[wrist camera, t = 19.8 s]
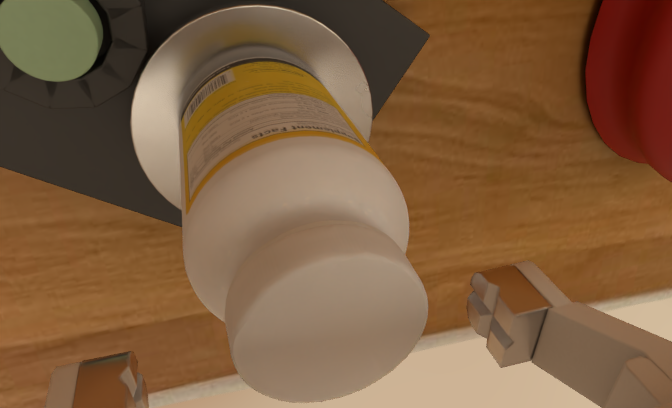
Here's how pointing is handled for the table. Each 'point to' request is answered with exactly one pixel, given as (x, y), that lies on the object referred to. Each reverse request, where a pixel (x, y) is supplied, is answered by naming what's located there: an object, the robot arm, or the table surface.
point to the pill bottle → (295, 234)
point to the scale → (119, 82)
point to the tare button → (50, 37)
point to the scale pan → (223, 48)
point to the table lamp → (633, 80)
